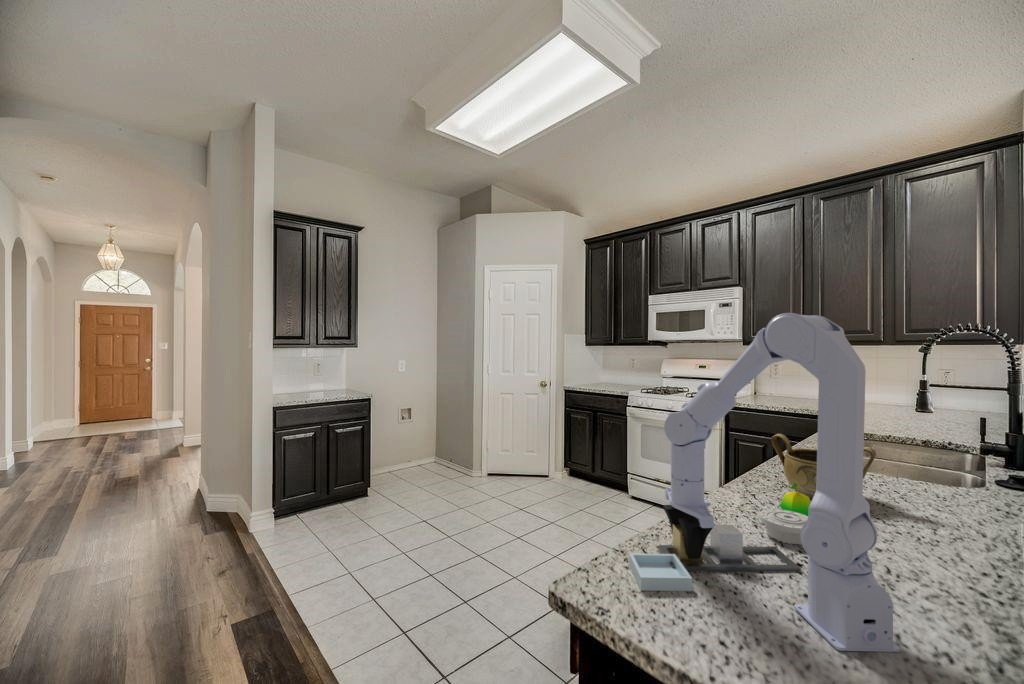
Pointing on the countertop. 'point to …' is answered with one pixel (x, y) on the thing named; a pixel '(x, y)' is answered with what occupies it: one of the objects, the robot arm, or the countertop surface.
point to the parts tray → (659, 572)
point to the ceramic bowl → (804, 465)
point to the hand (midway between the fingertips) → (687, 551)
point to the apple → (795, 501)
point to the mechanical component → (783, 525)
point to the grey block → (726, 544)
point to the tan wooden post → (682, 546)
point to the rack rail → (747, 567)
